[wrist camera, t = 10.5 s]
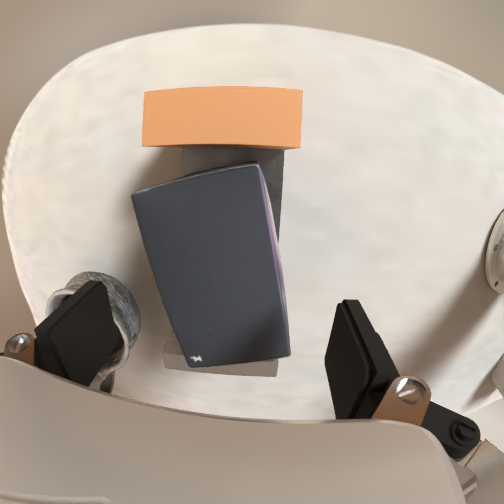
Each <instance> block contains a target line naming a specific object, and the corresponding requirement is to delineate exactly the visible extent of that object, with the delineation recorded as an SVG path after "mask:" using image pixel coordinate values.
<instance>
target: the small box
mask: <svg viewBox="0 0 504 504" xmlns="http://www.w3.org/2000/svg"><path fill="white" fill-rule="evenodd" d="M131 198H132V202H133V206H134V210H135V214H136V218H137V222H138V225H139V229H140V232H141V236H142V239H143V243H144V246H145V250H146V253H147V256H148V259H149V263H150V266H151V269H152V272H153V275H154V278H155V281H156V284H157V287H158V290H159V293H160V296H161V299H162V301H163V304H164V307H165V310H166V312H167V315H168V318H169V320H170V323H171V326H172V328H173V331H174V333H175V336H176V338H177V341H178V343H179V346H180V348H181V351H182V352H183V355H184V357H185V360H186V362H187V364H188V367H190V368H192V369H193V368H205V367H215V366H227V365H235V364H244V363H252V362H260V361H266V360H273V359H279V358H285V357H289V356H290V355H291V350H290V337H289V326H288V316H287V306H286V297H285V289H284V280H283V272H282V264H281V256H280V251H279V245H278V240H277V234H276V229H275V224H274V218H273V213H272V208H271V203H270V199H269V195H268V191H267V187H266V183H265V180H264V177H263V174H262V171H261V169H260V166H259V163H258V162H257V161H250V162H244V163H238V164H233V165H228V166H223V167H218V168H214V169H209V170H204V171H200V172H195V173H191V174H187V175H185V176H184V177H181V178H178V179H175V180H172V181H169V182H166V183H163V184H159V185H156V186H152V187H149V188H146V189H141V190H138V191H136V192H134V193H132V194H131Z"/></svg>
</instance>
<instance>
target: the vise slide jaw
mask: <svg viewBox="0 0 504 504" xmlns="http://www.w3.org/2000/svg"><path fill="white" fill-rule="evenodd" d="M302 93H303V90H296V89H285V88H271V87H247V86H214V87H191V88H177V89H166V90H157V91H148V92H145V93H144V108H143V129H142V146H145V147H179V148H187V147H236V148H263V149H280V150H287V149H294V148H300V141H301V120H302Z"/></svg>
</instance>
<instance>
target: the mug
mask: <svg viewBox="0 0 504 504" xmlns="http://www.w3.org/2000/svg"><path fill="white" fill-rule="evenodd" d="M89 280H96V281H102V282H103V284H104V285H105V286H106V287H107V291H108V296H109V301H110V305H111V310H112V314H113V318H114V322H115V326H116V330H117V334H118V343H117V345H116V347H115V348H114V350H113V351H112V352H111V354H110V355H109V357H108V358H107V360H106V361H105V363H104V364H103V366H102V367H101V369H100V370H99V372H98V373H97V375H96V377H95V378H94V380H93V381H92V383H91V384H90V386H89V387H90V388H93V389H96V390H100V391H103V392H106V393H110V394H111V392H112V389H113V384H114V374H115V370H117V369H119V368H121V367H122V366H123V365H124V364H125V363H126V361H127V359H128V356H129V350H130V349H131V348H132V347H133V345H134V343H135V342H136V340H137V337H138V334H139V330H140V325H141V318H140V312H139V309H138V306H137V304H136V302H135V300H134V298H133V296H132V294H131V293H130V292H129V290H128V289H127V288H126V287H125V286H124V285H123V284H121V283H120V282H119V281H118V280H116V279H115V278H113V277H111V276H109V275H106V274H104V273H100V272H99V273H98V272H83V273H81V274H78V275H76V276H75V277H74V278H72V279H71V280H70V281H69V282H68V284H67V285H66V287H65V288H64V289H60V290H57V291H56V292H54V293H53V294H52V296H51V297H50V298H49V299H48V302H47V306H46V312H45V314H46V318H47V317H48V316H49V315H50V314H51V313H52V312H53V311H54V310H55V309H57V308H58V307H59V306H60V305H61V304H62V303H63V302H64V301H65V300H67V299H68V298H69V297H70V296H71V295H72V294H73V293H75V292H76V291H77V290H78V289H79V288H80V287H82V286H83V285H84V284H85V283H86V282H87V281H89Z"/></svg>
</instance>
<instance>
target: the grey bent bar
mask: <svg viewBox="0 0 504 504" xmlns="http://www.w3.org/2000/svg"><path fill="white" fill-rule="evenodd" d="M250 161H257V162H258V163H259V166H260V169H261V171H262V174H263V177H264V180H265V183H266V187H267V191H268V195H269V199H270V203H271V208H272V213H273V218H274V224H275V229H276V234H277V240H278V241H279V228H280V213H281V199H282V183H283V166H284V150H280V149H263V148H236V147H187V148H183V177H184V176H185V175H187V174H191V173H195V172H200V171H204V170H209V169H214V168H218V167H223V166H228V165H233V164H238V163H244V162H250ZM163 358H164V363H165V368H169V369H177V370H185V371H193V372H202V373H213V374H225V375H241V376H265V377H276V375H277V368H278V359H273V360H266V361H260V362H252V363H244V364H235V365H227V366H215V367H205V368H193V369H192V368H190V367H188V364H187V362H186V360H185V357H184V355H183V352H182V351H181V348H180V346H179V343H178V341H177V338H176V336H175V333H174V331H173V330H172V332H171V335H170V337H169V339H168V342H167V344H166V346H165V348H164V351H163Z"/></svg>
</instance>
